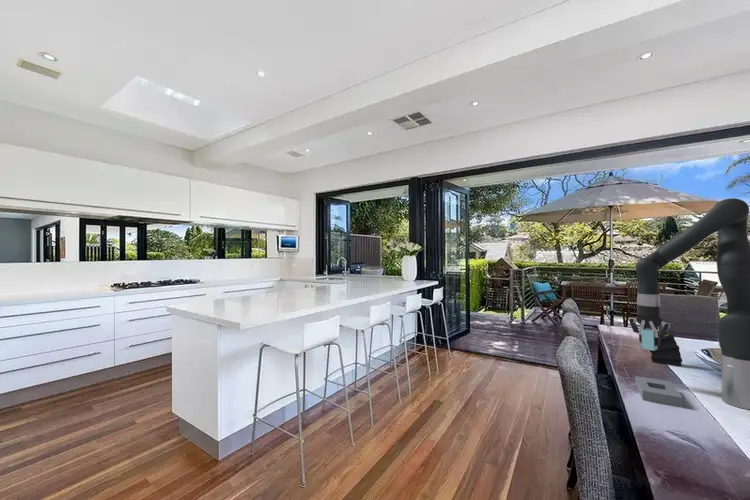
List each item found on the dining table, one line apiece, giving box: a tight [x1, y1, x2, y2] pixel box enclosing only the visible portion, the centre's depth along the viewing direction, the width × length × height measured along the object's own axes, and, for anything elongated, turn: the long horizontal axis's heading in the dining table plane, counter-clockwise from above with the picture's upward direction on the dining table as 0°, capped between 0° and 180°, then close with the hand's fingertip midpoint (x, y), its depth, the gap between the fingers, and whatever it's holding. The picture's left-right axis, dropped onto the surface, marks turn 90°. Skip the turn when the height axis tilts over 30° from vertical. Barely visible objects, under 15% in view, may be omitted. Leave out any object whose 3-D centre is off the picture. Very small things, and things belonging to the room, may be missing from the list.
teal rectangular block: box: [641, 328, 657, 351], centre depth 134 cm, size 4×4×8 cm
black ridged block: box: [649, 333, 683, 368], centre depth 156 cm, size 4×13×15 cm, turn 51°
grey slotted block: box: [635, 375, 683, 408], centre depth 123 cm, size 16×11×4 cm
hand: (649, 344), depth 134 cm, fingers closed on teal rectangular block, 4 cm apart
